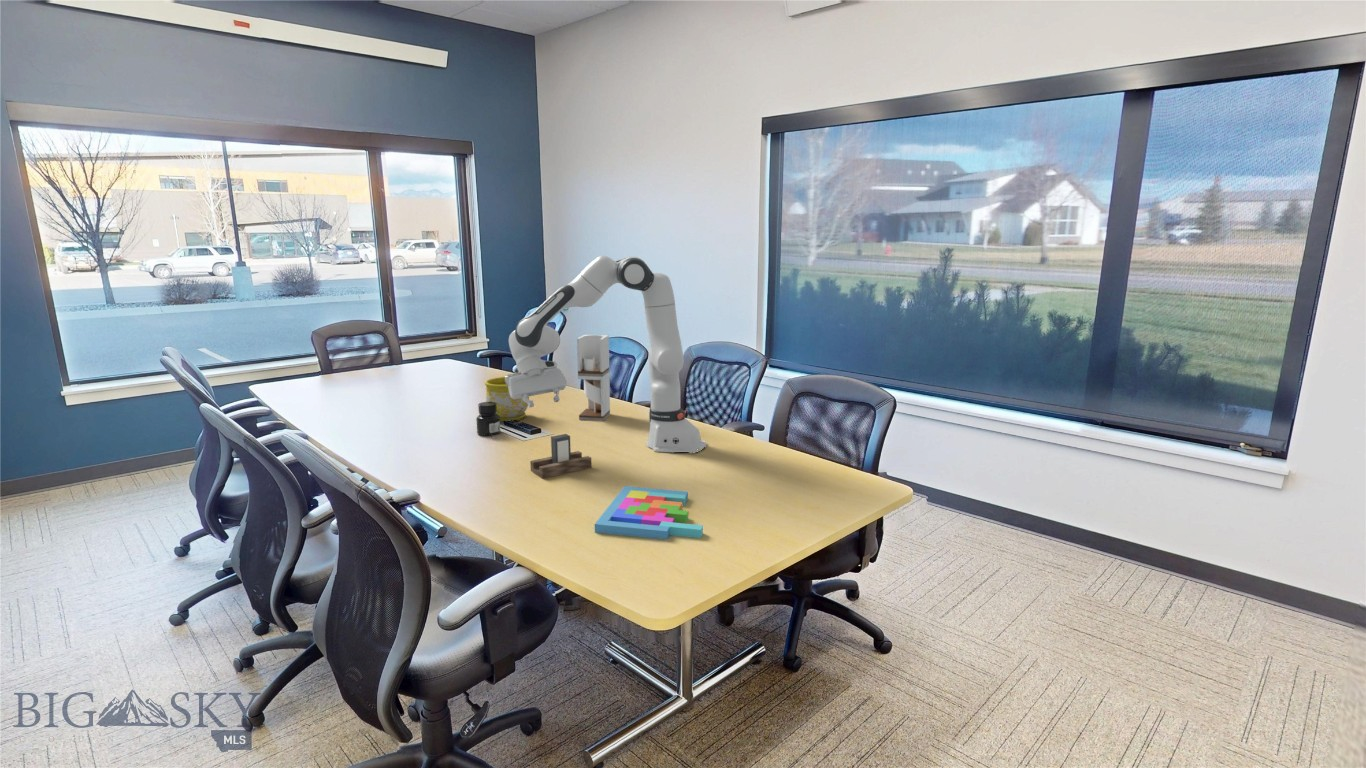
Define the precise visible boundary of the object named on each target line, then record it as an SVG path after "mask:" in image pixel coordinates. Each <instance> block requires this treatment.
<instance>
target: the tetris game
mask: <svg viewBox="0 0 1366 768" xmlns="http://www.w3.org/2000/svg"><path fill="white" fill-rule="evenodd" d="M687 499H689V492H688V491H684V490H676V489H675V490H673V489H663V488H661V489H660V488H652V487H651V488H650V487H637V486H628V485H627V486H626V485H625V486H624V487H623V488H621V490H620V491H619V493H618V494H617V495H616V497H615V498H614V499H613V500H612V501H611V503H610V505H608V507H607V508H606V509H605V510H604V512H603V513H602V514H601V515H600V517H599V518H598V519H597V520H596V522H595V523H594V533H597V534H598V533H599V534H610V535H618V536H629V537H637V538H639V537H640V538H648V539H649V538H650V539H658V540H659V539H660V540H668V539H669V536H675V537H676V536H677V537H688V538H696V539H701V538H702V536H703V533H704V525H702V524H701V525H700V524H692V523H688V520H689V511H688V510H684V509H683V506H682V505H684V506H685V505H686V504H685V503H687V502H686V501H688V500H687ZM687 519H688V520H687ZM674 521H676V522H674ZM684 522H686V523H684Z"/></svg>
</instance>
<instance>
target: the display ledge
mask: <svg viewBox="0 0 1366 768" xmlns="http://www.w3.org/2000/svg"><path fill="white" fill-rule="evenodd" d="M529 464H530V471H531V472H532V473H533V474H535V475H536V476H538V477H539V478H541V479H543V480H544V479H547V478H552V477H556V476H562V475H565V474H569V473H573V472H579V471H582V470H583V471H584V470H588V469H591V468H592V467H593V465H592V464H593V463H592V457H591V456H589V455H586V456H583V452H581V451H579V450H577V451H571V460H567V461H562V462H558V463H553V464H552V456H547V457H543V458H537V459H533V460H530V463H529Z"/></svg>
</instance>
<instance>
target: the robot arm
mask: <svg viewBox="0 0 1366 768" xmlns="http://www.w3.org/2000/svg"><path fill="white" fill-rule="evenodd" d="M615 284H621V285H622V286H624V287H625V288H628V289H630V290H635V291H640V292H641V294H642V297H643V305H644V311H645V312H644V313H645V320H646V321H645V322H646V329H647V333H648V338H649V339H648V340H649V344H650V347H649V349H648V370H649V372H648V373H649V381H650V407H649V413H648V417H649V422H650V423H649V431H648V436H647V437H648V438H647V441H646V446H647V447H648V448H650V449H653V451H654V452H657V453H674V452H697V451H700V450H701V449H703V448H704V447H705V446H706V447H707V441H706V440H704V439H703V440H702V439H701V433H700V430H699V428H698V427H697V426H696V425H694V424H693V423H692V422H691V421H690V420H688V419H687V418H686V413H687V409H685V410H684V409H683V408H682V407H681V383H680V372H681V371H682V370H683V366H684V363H685V358H684V354H683V346H682V340H681V336H680V330H679V326H678V319H677V317H678V316H677V310H676V309H677V308H676V301H675V300H676V299H675V294H674V290H673V285H672V282H671V279H670V277H669V276H668V275H667V274H664V273H661V272H659V273H658V272H656V273H655V272H654V273H653V271H652V270H651V269H650V267H649V266H648V265H647V263H646V262H645V261H644V260H643V259H641V258H640V257H638V256H627V257H624V258H622V259H618V260H616V261H615V260H614V259H612V258H611V257H609V256H607V255H599V256H596V258H594V259H593V260H592V261H591V262H589V263H588V264H587V265H586V266H585V267H584V268H583V269H582V270H581V271H580V272H579V274H577V276H576V277H575V278H573V280H571V281H570V282H568V283H567V284H566V285H562V286H561V287H559V288H558V289H556V291H554V292H553V293H552V294H551V295H549V297H548V298H547V299H546V300H544V301H543V303H541V304H540V305H539V306H538V307H537V308H536V309H534V311H532V312H531V313H530V314H528V315H526V316H525V317H523V318H522V319H521V320H519V321H518V322H517V324H516V326H515V328H514V329H515V330H513V331H512V332H511V333H510V334H509V335H508V336H509V337H508V345H509V350H510V353H511V355H512V358H513V360H514V361H515V363H516V370H517V371H518V372H515V373H509V374H507V375H506V376H504V377H505V382H506V384H507V385H508V389H509V393H510V397H511V398H512V399H519V398H522V399H523V401H524V402H526V403H527V404H528V408H529V409H530V408H533V407H534V406H535V403H534V400H533V399H532V400H530V397H534V396H539V395H544V394H548V393H549V394H550V393H554V397H553V401H554V403H558V402H560V397H559V395H560V392H561V391H564V390H565V389H566V387H567V384H568V382H567V380H566V377H565V376H564V373H563V372H562V370H561V369H560V368H558V363H557V362H556V361H554V360H553V361H552V360H546V359H541V358H543V357H545V356H548V355H550V354H552V353H554V352H555V351H556V350H557V349H558V348H559V346H560V343H561V336H560V333H559V332H558V331H557V330H556V329H554V328H553V327H551V326H549V325H548V324H549V323H550V322H551V321H552V320H553V319H555V317H557V315H558V314H559V313H561V312H562V311H563V310H565V309H568V308H575V307H576V308H577V307H579V308H588V307H592V306H593V305H595V304H596V303H597V302H598V301H599V300H600V299H601V298H603V296H604V294H606V292H607V291H608V290H609V289H610V288H611V287H612V286H614V285H615ZM527 397H529V399H528V398H527ZM706 447H705V448H706ZM697 449H698V450H697ZM700 452H701V451H700Z"/></svg>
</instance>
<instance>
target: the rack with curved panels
mask: <svg viewBox="0 0 1366 768" xmlns="http://www.w3.org/2000/svg"><path fill="white" fill-rule="evenodd" d="M609 337H610V336H609V334H608V335H605V334H600V335H599V334H583V335H581V336H579V337H577V338H576V344H577V345H576V349H577V350H576V351H577V354H576V355H577V380H583V393H584V395H585V397H586V398H587V400H588V404H587V405H588V408H585V409H584V410H583V411H582V412H581V413H580V414H579V415H578V421H597V422H598V421H599V422H604V421H605V420H606V419H607V418H608V417H609V416H610V415H611V400H610V398H611V395H610V393H611V390H610V388H611V387H610V386H611V385H610V338H609Z"/></svg>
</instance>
